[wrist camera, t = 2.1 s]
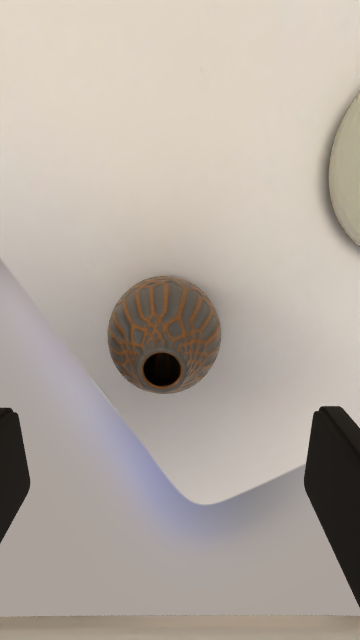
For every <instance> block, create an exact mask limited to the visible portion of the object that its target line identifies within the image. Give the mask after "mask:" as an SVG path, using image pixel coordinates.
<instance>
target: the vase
mask: <svg viewBox="0 0 360 640" xmlns="http://www.w3.org/2000/svg"><path fill="white" fill-rule="evenodd" d="M220 341H221V328H220V322H219V318H218V315H217V313H216V310H215V308H214V306H213V304H212V303H211V301H210V300H209V298H208V297H207V296H206V295H205V294H204V293H203V292H202V291H201V290H200V289H199V288H198V287H196V286H195V285H193V284H192V283H190V282H188V281H186V280H183V279H180V278H176V277H169V276H160V277H153V278H149V279H146V280H144V281H141V282H139V283H138V284H136V285H134V286H133V287H132V288H130V289H129V290H128V291H127V292H126V293H125V294H124V295H123V296H122V297H121V298H120V300H119V301H118V303H117V304H116V306H115V308H114V310H113V312H112V314H111V317H110V320H109V325H108V345H109V350H110V354H111V357H112V359H113V362H114V364H115V365H116V367H117V369H118V370H119V372H120V373H121V374H122V375H123V376H124V377H125V378H126V379H127V380H128V381H129V382H130V383H132V384H133V385H135V386H136V387H138V388H140V389H142V390H145V391H148V392H152V393H158V394H170V393H176V392H180V391H183V390H185V389H188V388H190V387H191V386H193V385H195V384H196V383H197V382H199V381H200V380H201V379H202V378H203V377H204V376H205V375H206V374H207V373H208V371H209V370H210V369H211V367H212V365H213V364H214V362H215V359H216V357H217V354H218V351H219V347H220Z"/></svg>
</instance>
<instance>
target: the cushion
mask: <svg viewBox="0 0 360 640" xmlns="http://www.w3.org/2000/svg"><path fill="white" fill-rule="evenodd" d="M329 191H330V197H331V202H332V205H333V208H334V211H335V214H336V217H337V219H338V221H339V223H340V225H341V226H342V228H343V229H344V231H345V232H346V234H347V235H348V236H349V237H350V238H351V239H352V240H353V241H354V242H355V243H356V244H357V245H358V246H359V247H360V93H359V94H358V95H357V97H356V98H355V100H354V101H353V102H352V104H351V105H350V107H349V108H348V110H347V112H346V114H345V116H344V118H343V120H342V122H341V124H340V127H339V129H338V132H337V134H336V137H335V140H334V144H333V147H332V151H331V157H330V163H329Z"/></svg>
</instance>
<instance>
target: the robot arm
mask: <svg viewBox="0 0 360 640" xmlns="http://www.w3.org/2000/svg"><path fill="white" fill-rule="evenodd" d="M304 486H305V490H306V492H307V495H308V497H309V499H310V501H311V504H312V506H313V508H314V510H315V512H316V514H317V517H318V518H319V521H320V523H321V525H322V527H323V529H324V531H325V534H326V536H327V538H328V540H329V542H330V544H331V547H332V549H333V551H334V553H335V555H336V558H337V560H338V562H339V564H340V566H341V568H342V570H343V573H344V575H345V577H346V579H347V581H348V583H349V585H350V588H351V590H352V592H353V594H354V596H355V599H356V601H357V603H358V605H359V607H360V428H359V427H358V426H357V425H356V423H355V422H354V421H353V420H352V419H351V418H350V416H349V415H348V414H347V413H346V412H345V411H344V409H343V408H342V407H339V406H322V407H320V409H319V411H315V412H314V414H313V420H312V427H311V434H310V441H309V448H308V455H307V462H306V469H305V476H304ZM29 488H30V476H29V471H28V466H27V460H26V455H25V449H24V444H23V438H22V433H21V427H20V422H19V417H18V414H17V413H15V412H13V410H12V409H11V408H0V543H1V541H2V539H3V537H4V536H5V534H6V532H7V530H8V528H9V527H10V525H11V523H12V521H13V519H14V517H15V516H16V513H17V512H18V510H19V508H20V506H21V505H22V503H23V501H24V499H25V497H26V495H27V493H28V491H29ZM0 640H360V616H333V615H167V616H165V615H164V616H163V615H161V616H160V615H159V616H158V615H156V616H155V615H148V616H37V617H35V616H33V617H0Z"/></svg>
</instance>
